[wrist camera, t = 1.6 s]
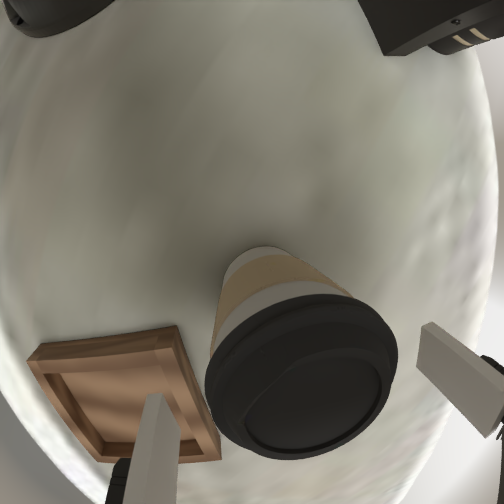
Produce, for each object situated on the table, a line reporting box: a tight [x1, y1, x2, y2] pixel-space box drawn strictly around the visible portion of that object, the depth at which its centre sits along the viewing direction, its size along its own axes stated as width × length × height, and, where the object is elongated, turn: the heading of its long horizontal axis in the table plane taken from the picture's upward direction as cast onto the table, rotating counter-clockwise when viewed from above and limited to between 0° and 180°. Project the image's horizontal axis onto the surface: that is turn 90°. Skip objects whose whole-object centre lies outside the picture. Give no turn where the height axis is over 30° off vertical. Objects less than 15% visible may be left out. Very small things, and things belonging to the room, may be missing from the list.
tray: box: [26, 326, 222, 464], centre depth 24 cm, size 16×16×4 cm
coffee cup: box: [205, 246, 398, 460], centre depth 17 cm, size 9×9×15 cm
